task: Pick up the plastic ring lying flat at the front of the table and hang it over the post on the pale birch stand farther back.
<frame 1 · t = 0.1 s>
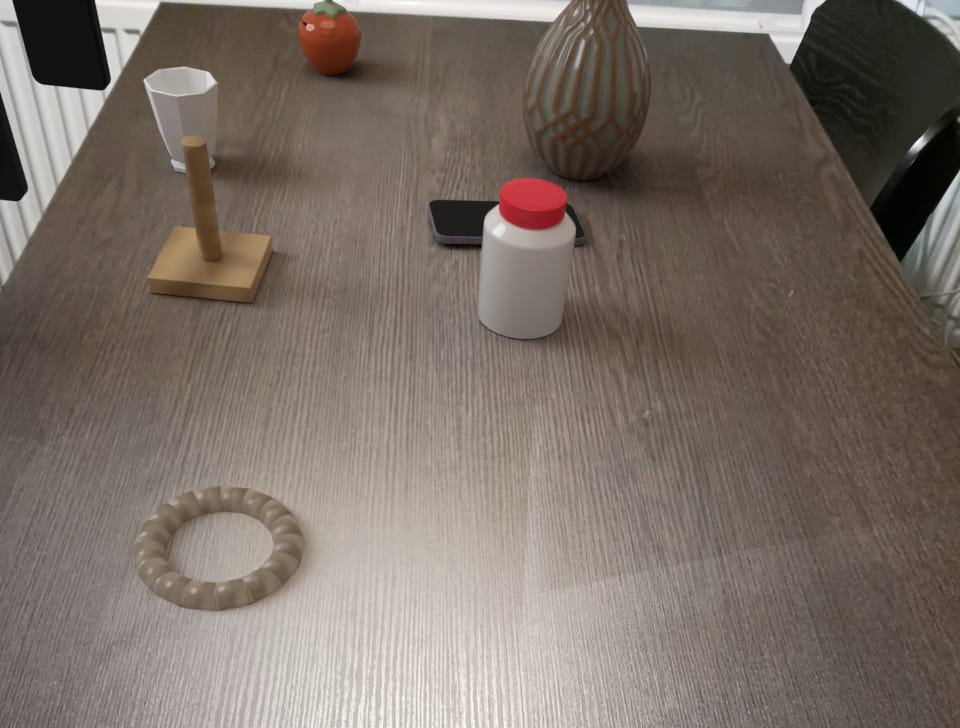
hand: (32, 135, 38), 30 cm above the table, tool pointing down, fingers open, 9 cm apart
pill bottle: (519, 316, 87), on the table
ring: (220, 547, 65), point 1 cm above the table
cup: (195, 159, 101), on the table
smartphone: (505, 230, 96), on the table
post: (213, 271, 88), on the table
tomato: (331, 70, 118), on the table
vase: (575, 168, 106), on the table
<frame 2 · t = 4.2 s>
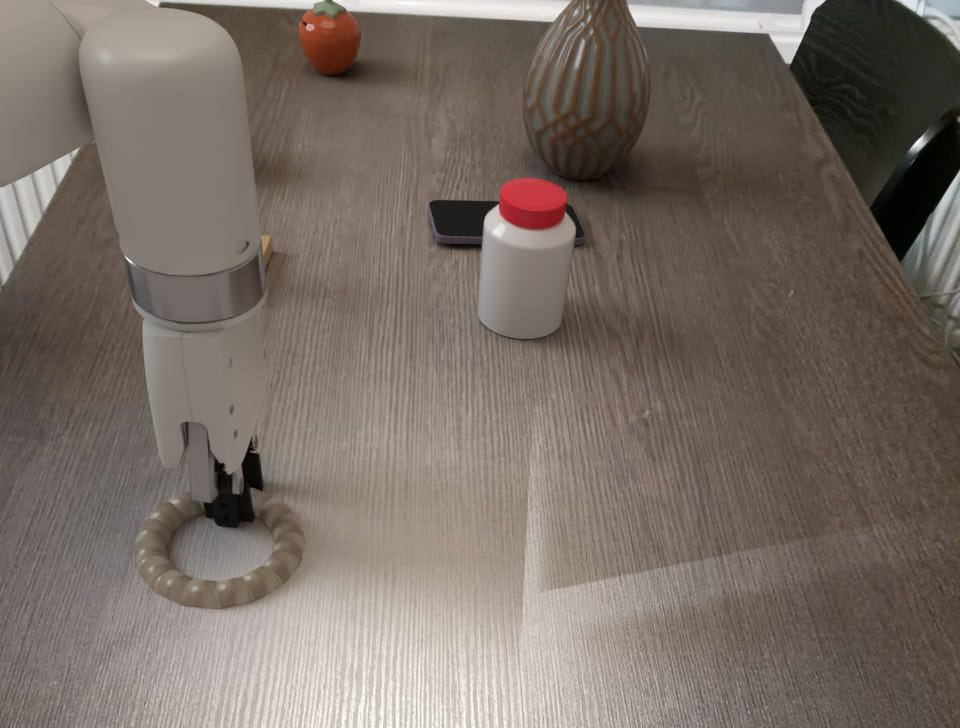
hand: (236, 510, 68), 0 cm above the table, tool pointing down, fingers closed on ring, 2 cm apart
ring: (220, 545, 65), point 1 cm above the table, touching gripper
everything else where it was.
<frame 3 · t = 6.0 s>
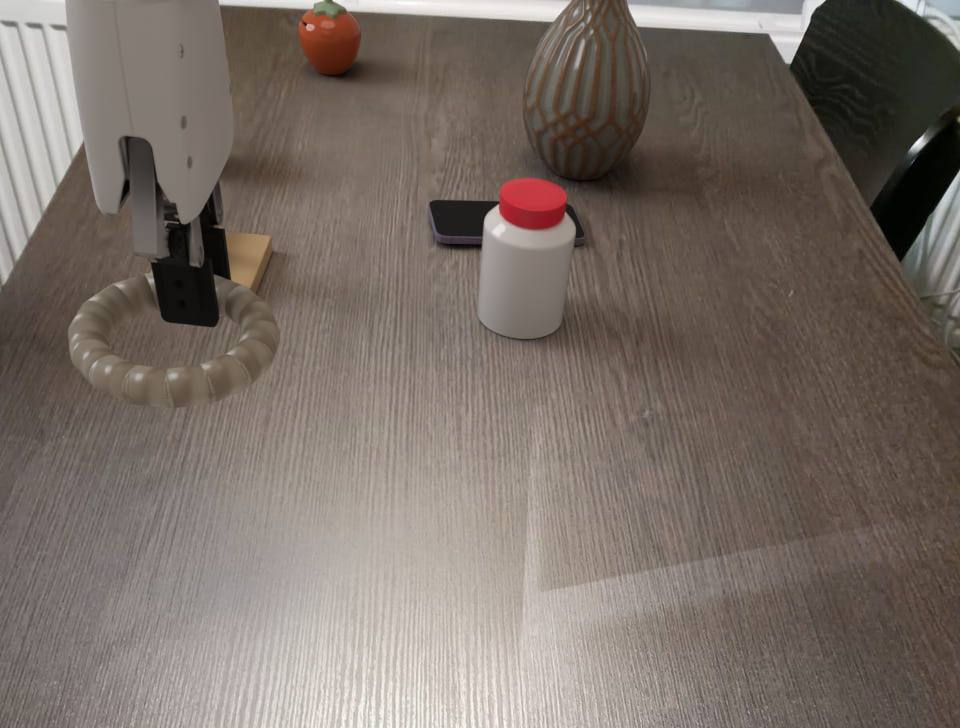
hand: (197, 304, 56), 16 cm above the table, tool pointing down, fingers closed on ring
ring: (176, 336, 53), point 17 cm above the table, touching gripper
everything else where it was.
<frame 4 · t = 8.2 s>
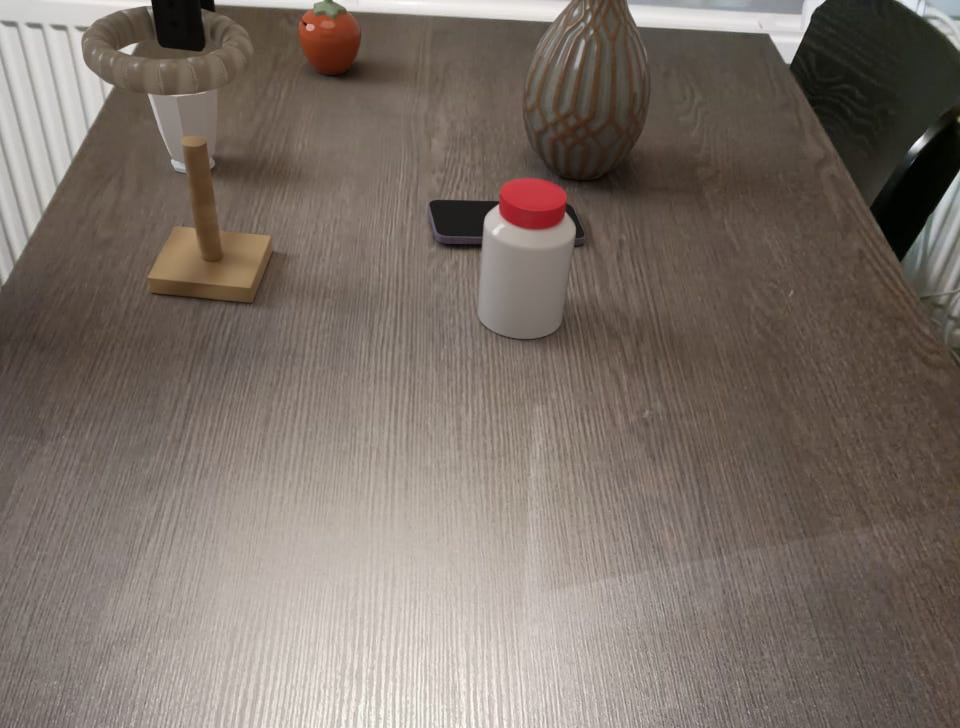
hand: (188, 37, 68), 21 cm above the table, tool pointing down, fingers closed on ring
ring: (168, 48, 65), point 22 cm above the table, touching gripper
everything else where it was.
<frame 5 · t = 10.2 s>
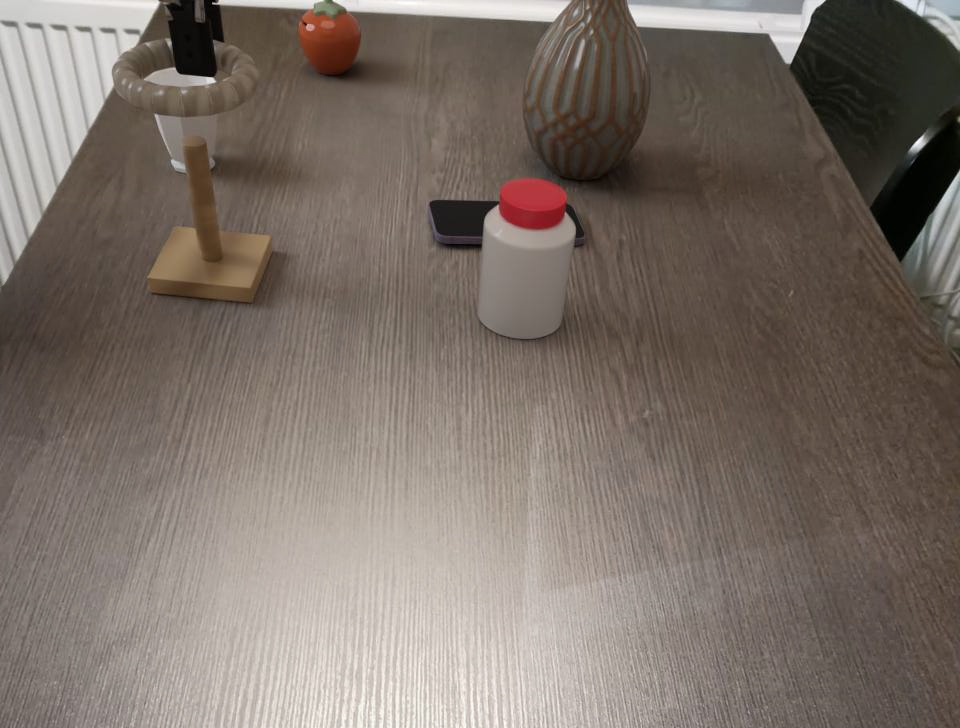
hand: (201, 64, 79), 16 cm above the table, tool pointing down, fingers closed on ring
ring: (186, 76, 75), point 16 cm above the table, touching gripper
everything else where it was.
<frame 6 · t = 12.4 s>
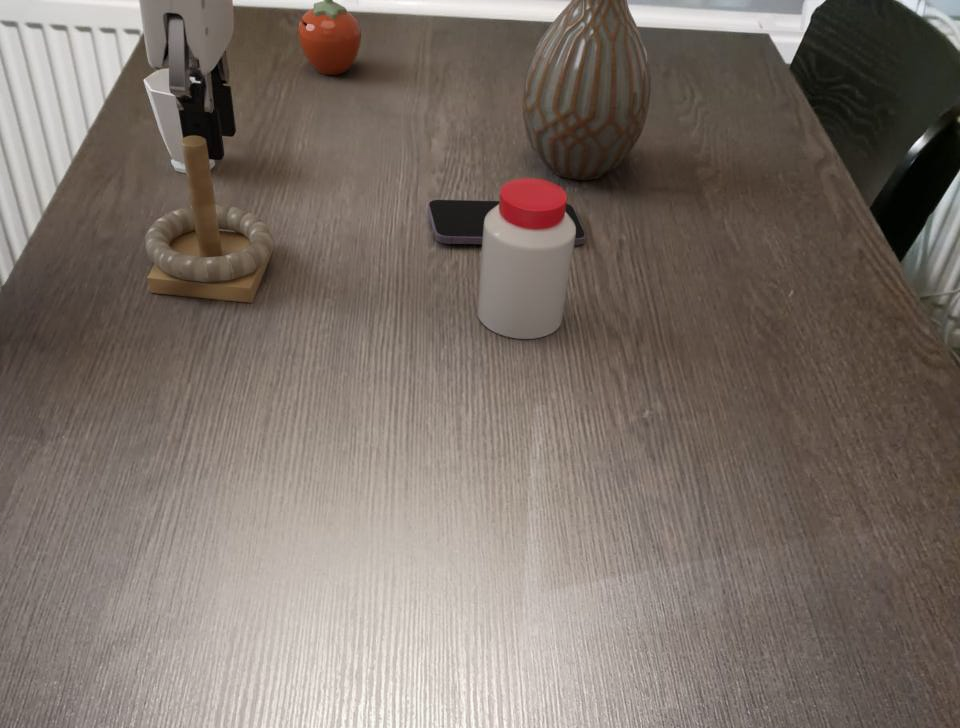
hand: (211, 143, 84), 9 cm above the table, tool pointing down, fingers open, 3 cm apart
ring: (209, 242, 86), point 2 cm above the table, touching post
everything else where it was.
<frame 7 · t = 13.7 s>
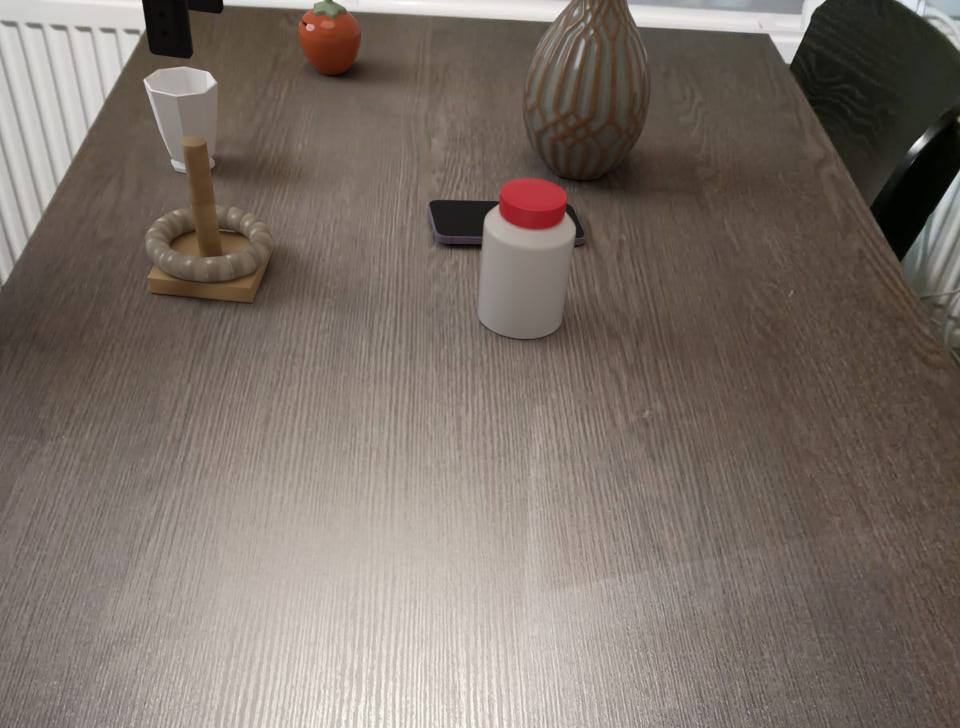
hand: (188, 32, 76), 18 cm above the table, tool pointing down, fingers open, 9 cm apart
nothing on the table moved.
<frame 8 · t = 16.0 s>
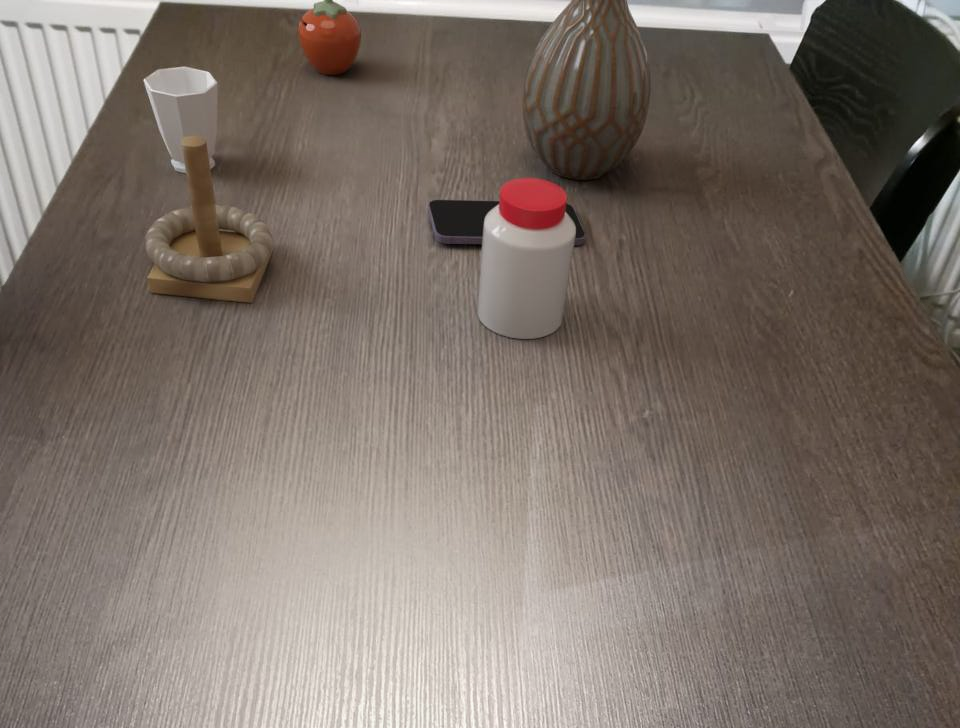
nothing on the table moved.
at the end: ring 0.5 cm off-centre on the post, point 2.5 cm above the post's base; the gripper is holding nothing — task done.
